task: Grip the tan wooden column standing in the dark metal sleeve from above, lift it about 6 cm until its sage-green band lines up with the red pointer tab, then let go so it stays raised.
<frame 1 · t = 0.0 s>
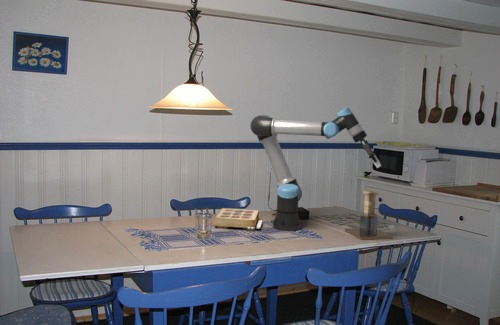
hand: (378, 165, 282), 36 cm above the table, tool tilted 35°, fingers open, 13 cm apart
beige slotted box: (239, 225, 285), on the table
stand: (367, 234, 273), on the table
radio: (286, 217, 310), on the table
column: (369, 211, 271), point 13 cm above the table, slide at 0.0 cm
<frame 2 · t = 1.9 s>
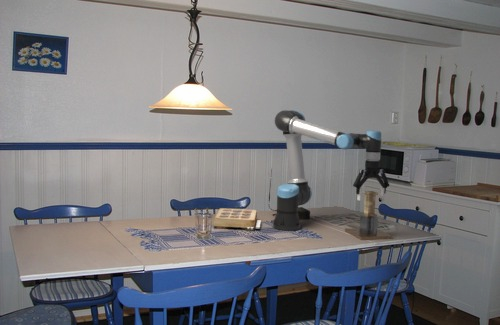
hand: (370, 200, 271), 19 cm above the table, tool pointing down, fingers open, 13 cm apart
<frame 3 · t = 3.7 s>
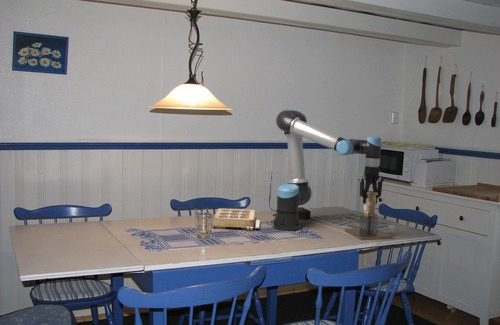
hand: (369, 209, 271), 14 cm above the table, tool pointing down, fingers closed on column, 4 cm apart
column: (369, 211, 271), point 13 cm above the table, slide at 0.0 cm, touching gripper
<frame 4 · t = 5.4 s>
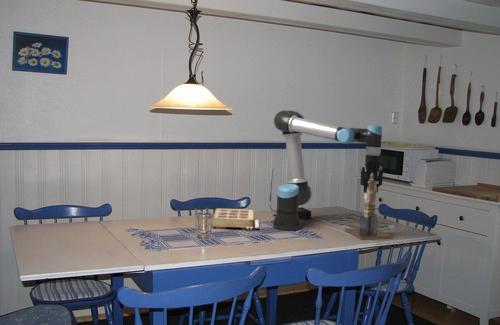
hand: (370, 198, 271), 20 cm above the table, tool pointing down, fingers closed on column, 4 cm apart
column: (370, 200, 271), point 19 cm above the table, slide at 6.0 cm, touching gripper
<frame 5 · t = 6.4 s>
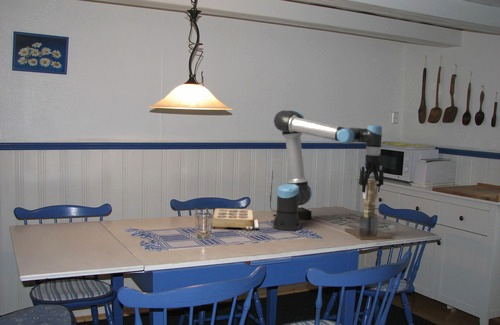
hand: (370, 198, 271), 20 cm above the table, tool pointing down, fingers open, 6 cm apart
column: (370, 200, 271), point 19 cm above the table, slide at 6.0 cm
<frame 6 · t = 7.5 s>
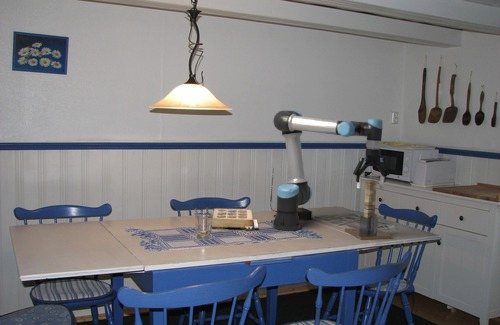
hand: (370, 188, 270), 25 cm above the table, tool pointing down, fingers open, 13 cm apart
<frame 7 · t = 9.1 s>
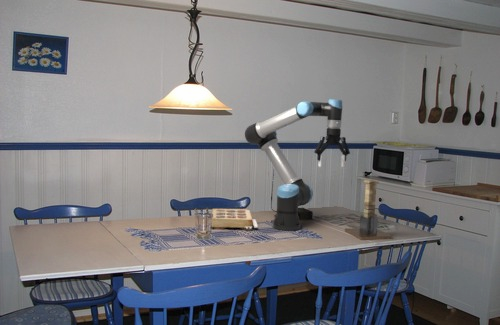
hand: (331, 166, 279), 35 cm above the table, tool pointing down, fingers open, 13 cm apart
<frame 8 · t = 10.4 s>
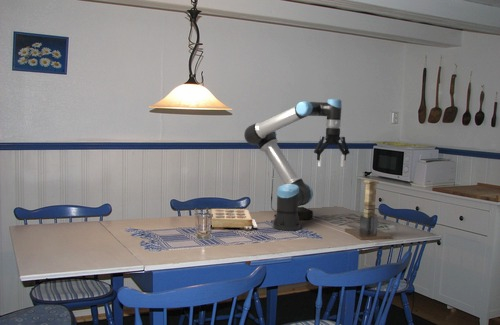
hand: (331, 166, 279), 35 cm above the table, tool pointing down, fingers open, 13 cm apart
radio: (289, 218, 307), on the table, touching arm
at the end: column slide at 6.0 cm; the gripper is holding nothing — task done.
